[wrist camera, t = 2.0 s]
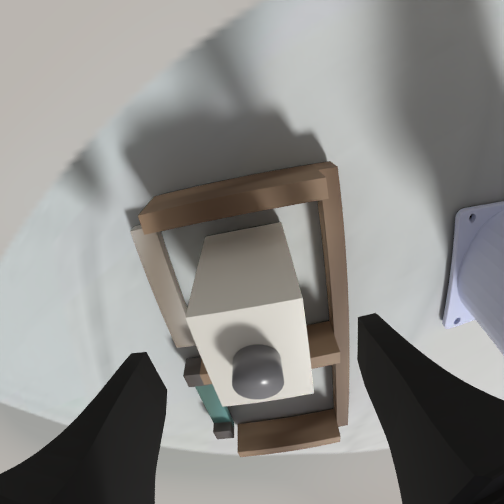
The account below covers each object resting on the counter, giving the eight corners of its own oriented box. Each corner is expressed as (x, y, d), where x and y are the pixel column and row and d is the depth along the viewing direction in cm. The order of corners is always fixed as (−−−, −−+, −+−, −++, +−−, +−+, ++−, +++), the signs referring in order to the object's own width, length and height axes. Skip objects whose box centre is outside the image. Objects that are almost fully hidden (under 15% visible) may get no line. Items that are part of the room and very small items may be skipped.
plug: (281, 222, 15) (308, 318, 8) (294, 302, 17) (318, 413, 10) (205, 236, 15) (180, 339, 9) (227, 314, 17) (221, 427, 11)
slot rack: (329, 161, 13) (347, 174, 11) (344, 412, 21) (351, 439, 19) (126, 203, 14) (106, 223, 12) (222, 431, 22) (220, 458, 19)
